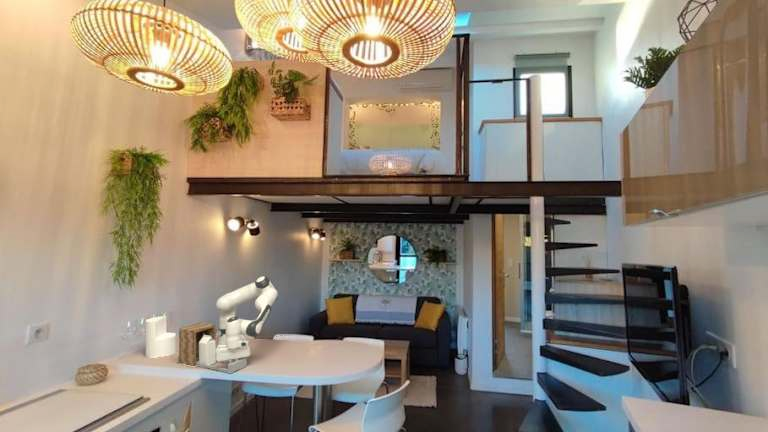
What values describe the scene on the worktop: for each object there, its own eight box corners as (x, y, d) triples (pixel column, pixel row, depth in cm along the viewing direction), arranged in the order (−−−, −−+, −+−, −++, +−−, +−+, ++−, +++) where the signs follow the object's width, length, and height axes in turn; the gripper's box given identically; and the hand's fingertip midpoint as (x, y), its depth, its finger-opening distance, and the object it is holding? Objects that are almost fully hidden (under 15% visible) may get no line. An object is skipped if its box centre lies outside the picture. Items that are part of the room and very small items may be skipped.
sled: (195, 365, 242) (195, 358, 242) (211, 359, 253) (211, 352, 254) (231, 373, 229) (231, 365, 229) (246, 366, 240) (246, 358, 240)
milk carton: (206, 367, 240) (206, 337, 241) (198, 365, 243) (198, 336, 244) (215, 363, 247) (215, 334, 247) (208, 361, 250) (207, 333, 250)
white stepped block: (139, 359, 258) (139, 322, 258) (154, 350, 276) (154, 316, 277) (168, 358, 259) (167, 321, 259) (180, 349, 278) (180, 315, 278)
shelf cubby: (179, 364, 246) (179, 328, 246) (200, 356, 261) (200, 322, 261) (194, 367, 240) (194, 330, 240) (215, 359, 255) (215, 324, 255)
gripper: (215, 347, 229) (215, 370, 228) (250, 342, 239) (250, 364, 238) (214, 345, 234) (214, 367, 234) (249, 339, 244) (249, 361, 244)
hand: (233, 365), depth 236 cm, fingers closed
